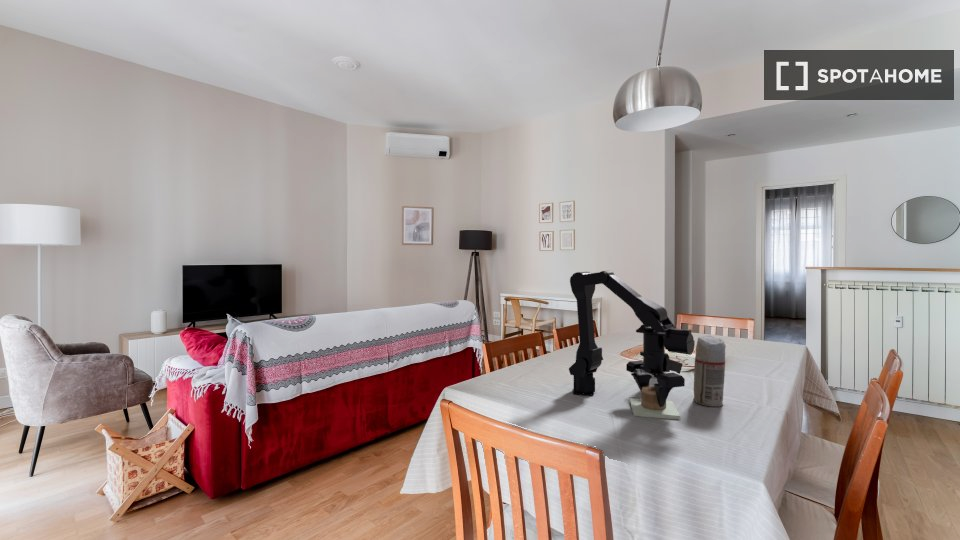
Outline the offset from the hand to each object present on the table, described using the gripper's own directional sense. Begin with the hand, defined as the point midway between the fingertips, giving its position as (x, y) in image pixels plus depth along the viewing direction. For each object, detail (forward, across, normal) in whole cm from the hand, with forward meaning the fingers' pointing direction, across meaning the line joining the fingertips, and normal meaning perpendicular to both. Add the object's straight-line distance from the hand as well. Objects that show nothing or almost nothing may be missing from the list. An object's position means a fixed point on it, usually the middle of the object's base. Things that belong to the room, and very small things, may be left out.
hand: (653, 402), depth 123 cm
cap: (+1, 0, 0) cm, 1 cm away
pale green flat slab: (+2, 0, 0) cm, 2 cm away
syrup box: (+2, +15, -12) cm, 19 cm away
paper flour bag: (+2, 0, -20) cm, 20 cm away
